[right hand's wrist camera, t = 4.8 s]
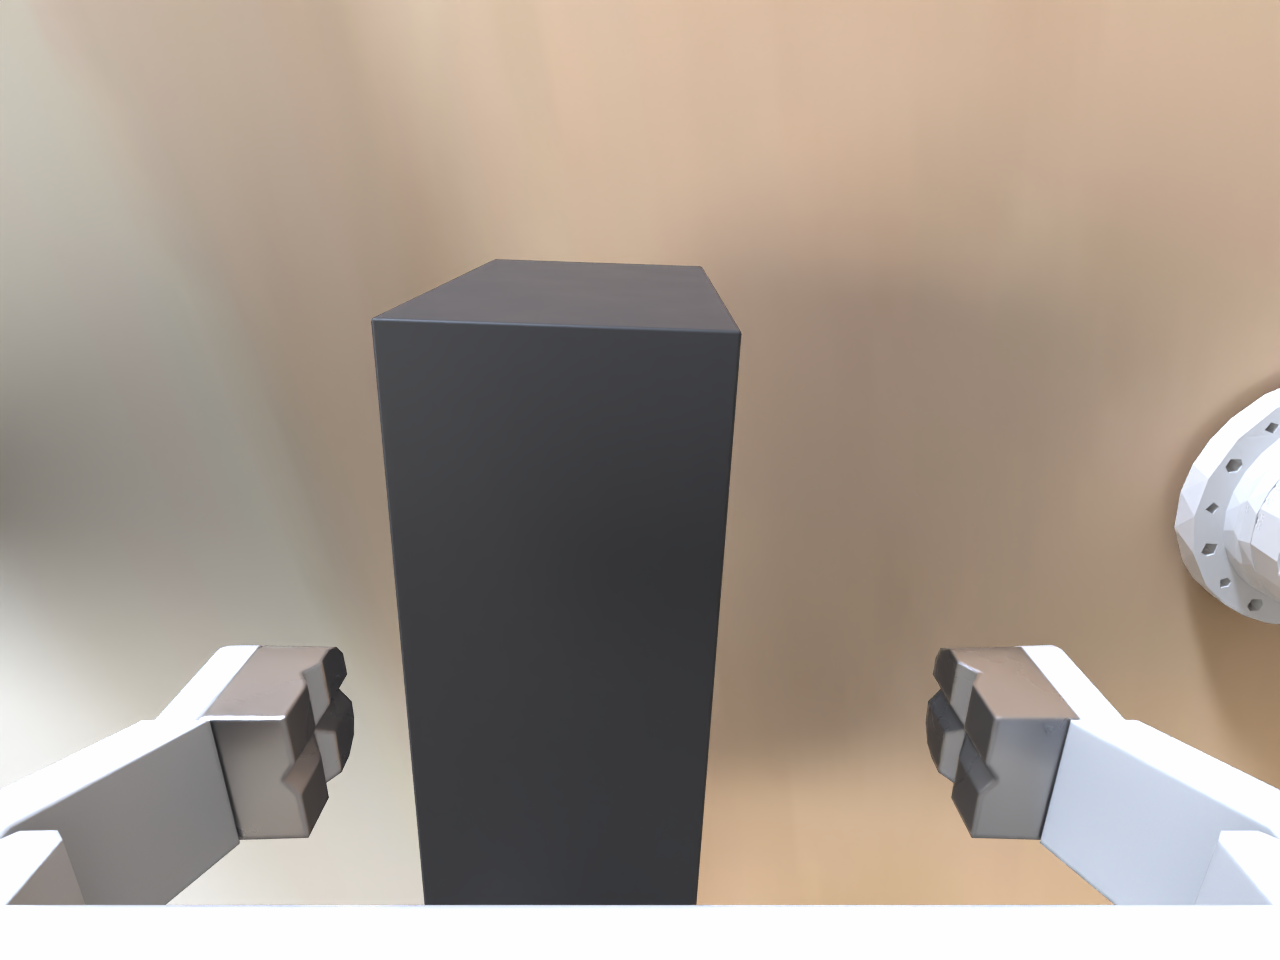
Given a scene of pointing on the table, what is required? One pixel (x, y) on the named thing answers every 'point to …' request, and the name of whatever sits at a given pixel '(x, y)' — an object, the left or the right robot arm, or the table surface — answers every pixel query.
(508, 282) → the box
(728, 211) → the table surface
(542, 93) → the table surface
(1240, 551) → the mechanical component
